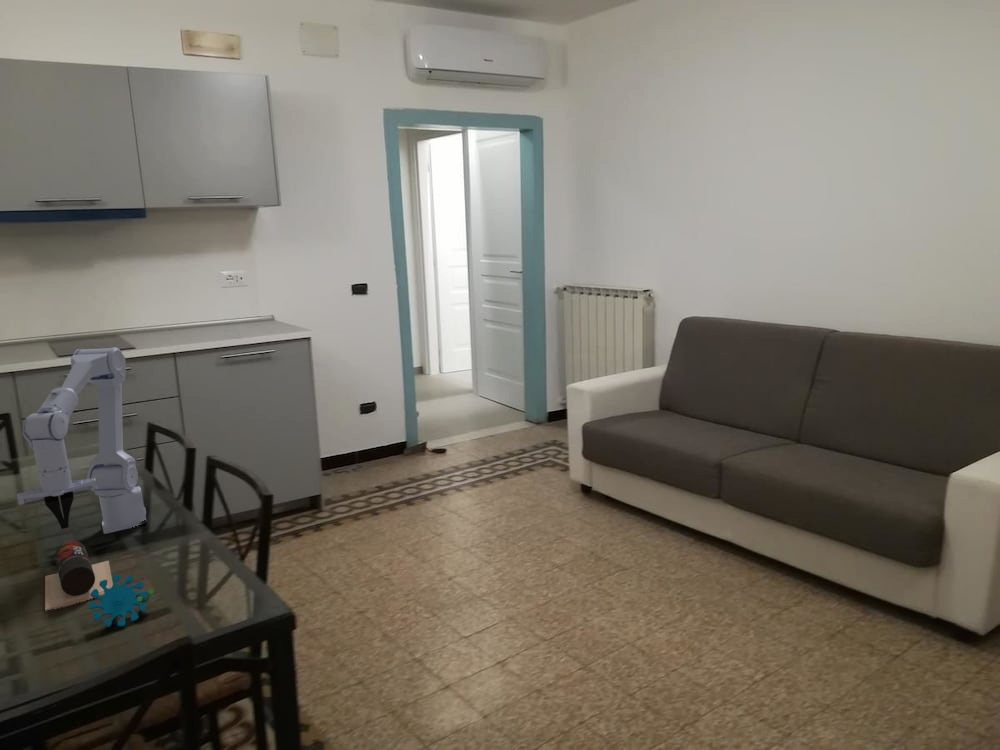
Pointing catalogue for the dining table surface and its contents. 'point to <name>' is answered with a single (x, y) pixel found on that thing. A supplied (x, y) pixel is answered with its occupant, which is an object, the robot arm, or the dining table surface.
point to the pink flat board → (60, 599)
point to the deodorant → (74, 568)
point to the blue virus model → (119, 600)
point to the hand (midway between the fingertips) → (65, 526)
